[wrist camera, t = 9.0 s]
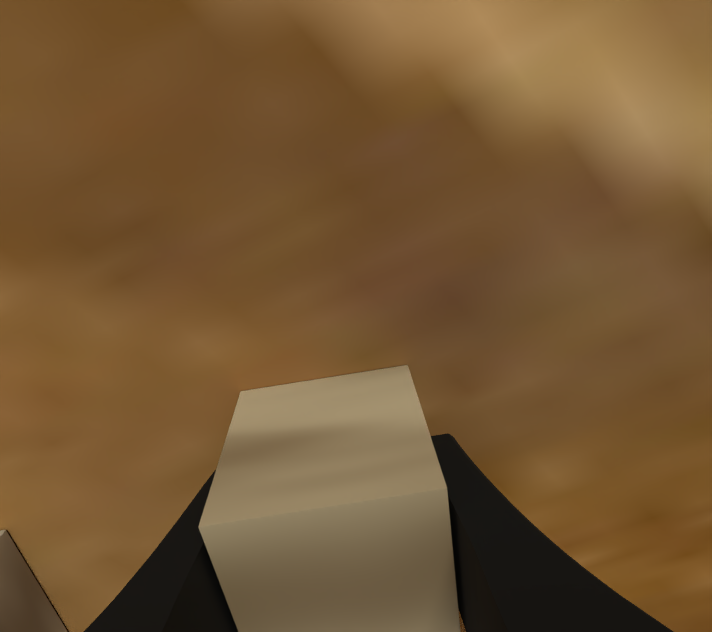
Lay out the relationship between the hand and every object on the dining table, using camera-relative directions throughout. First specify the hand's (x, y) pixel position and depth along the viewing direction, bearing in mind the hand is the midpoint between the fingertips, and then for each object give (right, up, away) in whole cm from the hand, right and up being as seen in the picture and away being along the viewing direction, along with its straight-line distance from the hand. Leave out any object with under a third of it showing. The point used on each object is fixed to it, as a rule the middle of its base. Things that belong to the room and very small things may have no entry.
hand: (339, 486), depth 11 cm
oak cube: (0, +1, +1) cm, 1 cm away
